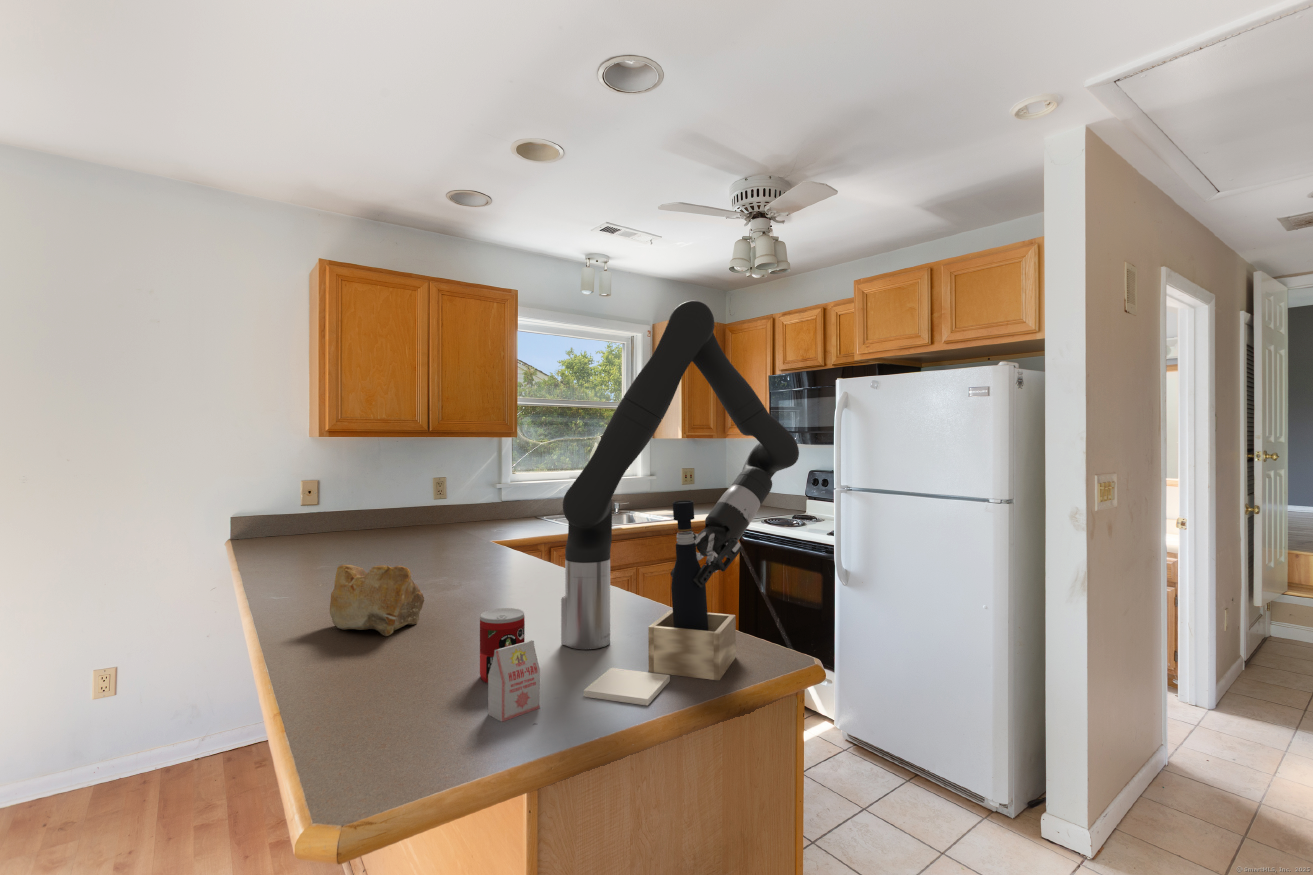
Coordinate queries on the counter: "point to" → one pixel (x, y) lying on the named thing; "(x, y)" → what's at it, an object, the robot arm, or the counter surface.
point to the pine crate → (692, 647)
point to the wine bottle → (687, 574)
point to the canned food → (499, 634)
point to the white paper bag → (514, 681)
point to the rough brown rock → (375, 598)
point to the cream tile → (627, 686)
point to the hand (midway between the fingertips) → (685, 581)
